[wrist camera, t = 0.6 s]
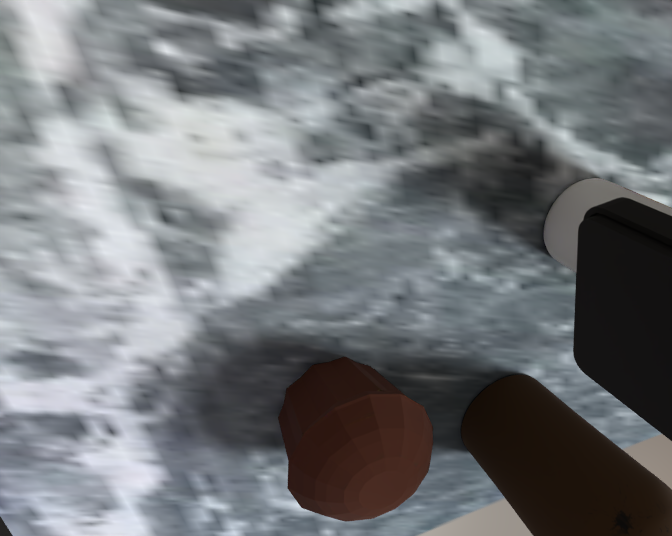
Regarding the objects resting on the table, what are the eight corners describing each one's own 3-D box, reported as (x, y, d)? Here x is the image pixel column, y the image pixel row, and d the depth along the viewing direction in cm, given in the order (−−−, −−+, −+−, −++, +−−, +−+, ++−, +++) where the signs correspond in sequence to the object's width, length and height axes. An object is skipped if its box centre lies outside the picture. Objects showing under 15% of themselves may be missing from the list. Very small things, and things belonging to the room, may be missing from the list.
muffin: (410, 347, 52) (478, 422, 44) (371, 453, 56) (428, 541, 48) (278, 342, 47) (328, 427, 39) (245, 460, 51) (284, 560, 43)
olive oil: (434, 449, 59) (641, 719, 39) (493, 356, 57) (747, 592, 36) (509, 464, 65) (724, 707, 44) (565, 380, 62) (821, 595, 42)
